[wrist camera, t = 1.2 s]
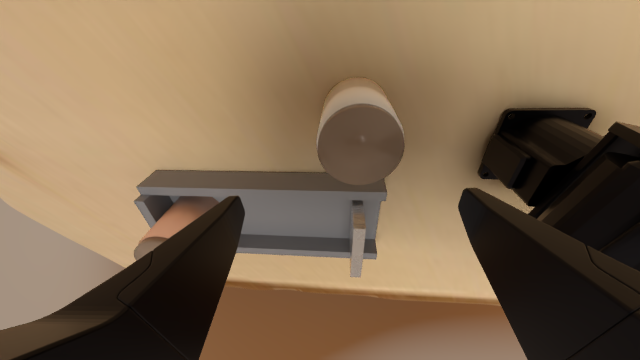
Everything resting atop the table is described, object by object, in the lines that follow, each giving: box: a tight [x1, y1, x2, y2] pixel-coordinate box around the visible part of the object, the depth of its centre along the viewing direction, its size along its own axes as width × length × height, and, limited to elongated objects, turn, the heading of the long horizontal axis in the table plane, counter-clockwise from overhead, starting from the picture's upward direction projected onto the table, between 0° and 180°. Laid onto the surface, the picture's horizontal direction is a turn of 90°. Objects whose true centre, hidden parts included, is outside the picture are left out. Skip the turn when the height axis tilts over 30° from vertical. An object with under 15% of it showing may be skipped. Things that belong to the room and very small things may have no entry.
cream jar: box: [316, 77, 404, 185], centre depth 17 cm, size 6×6×7 cm
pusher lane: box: [134, 170, 387, 259], centre depth 25 cm, size 24×10×4 cm, turn 92°
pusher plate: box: [349, 200, 366, 277], centre depth 23 cm, size 1×7×5 cm, turn 2°
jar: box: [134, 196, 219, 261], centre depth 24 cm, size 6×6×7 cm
